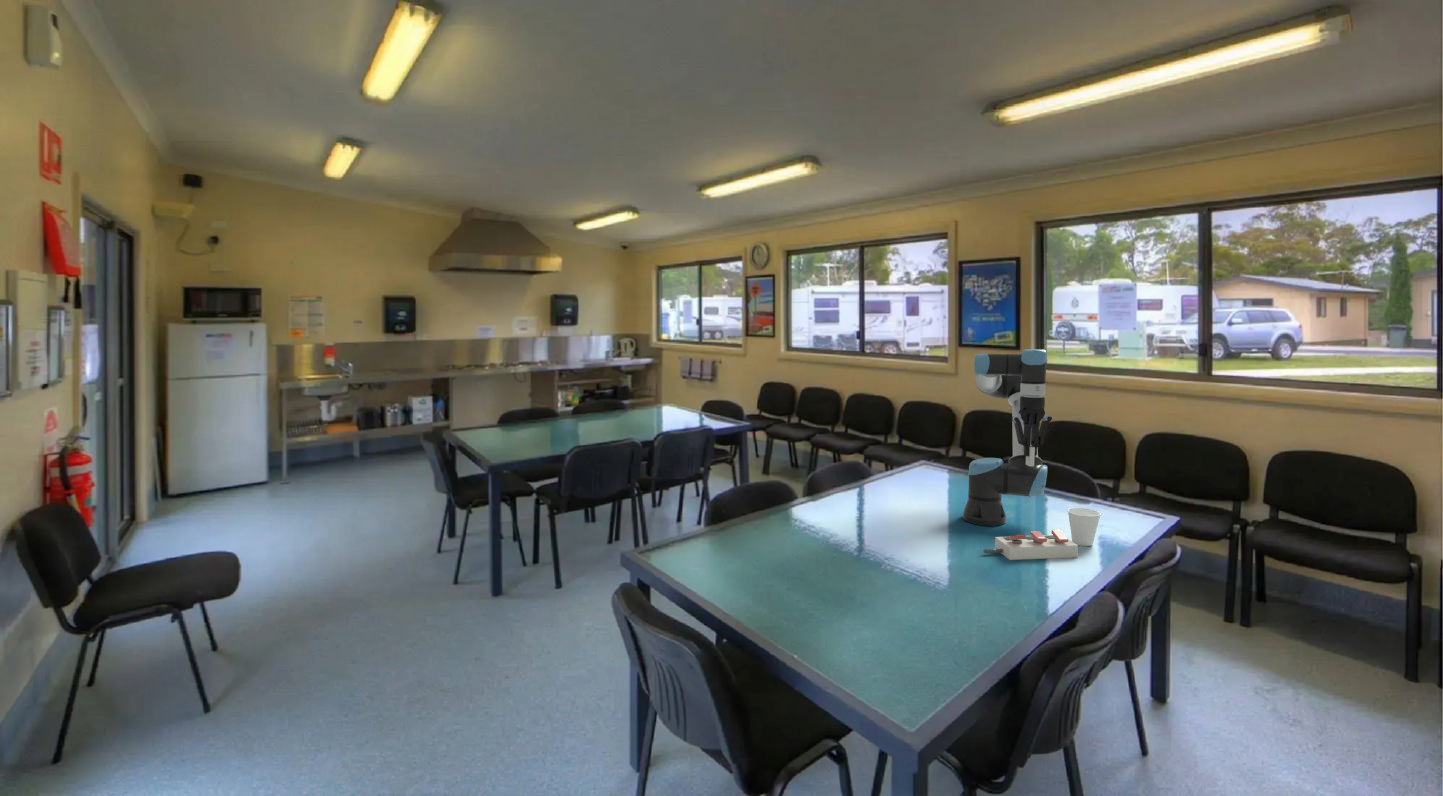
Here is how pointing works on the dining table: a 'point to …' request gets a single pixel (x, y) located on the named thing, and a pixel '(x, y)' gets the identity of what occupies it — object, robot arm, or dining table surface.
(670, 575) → the dining table surface
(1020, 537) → the rocker
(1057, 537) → the rocker
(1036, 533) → the rocker
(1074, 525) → the cup
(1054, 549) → the strip
